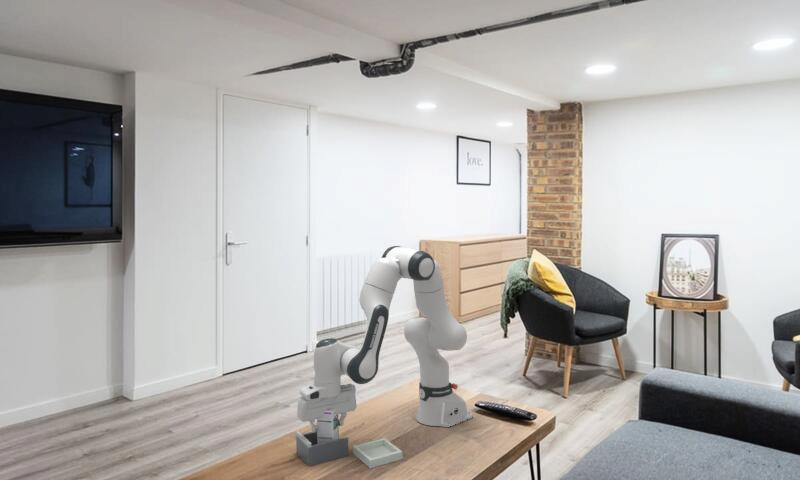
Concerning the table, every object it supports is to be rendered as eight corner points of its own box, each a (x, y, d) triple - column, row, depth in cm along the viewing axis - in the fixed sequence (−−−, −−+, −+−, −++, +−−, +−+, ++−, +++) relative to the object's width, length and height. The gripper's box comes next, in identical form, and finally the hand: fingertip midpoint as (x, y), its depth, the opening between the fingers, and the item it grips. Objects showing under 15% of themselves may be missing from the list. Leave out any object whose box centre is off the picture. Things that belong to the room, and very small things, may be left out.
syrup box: (333, 453, 182) (333, 410, 181) (316, 452, 183) (316, 409, 182) (339, 446, 188) (338, 404, 187) (322, 444, 189) (322, 403, 188)
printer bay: (334, 443, 193) (334, 423, 192) (348, 455, 183) (348, 434, 183) (296, 452, 185) (296, 431, 185) (308, 466, 176) (308, 444, 176)
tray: (384, 445, 191) (384, 438, 191) (402, 459, 181) (402, 451, 180) (353, 453, 185) (353, 446, 185) (370, 468, 174) (370, 460, 174)
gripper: (351, 379, 192) (351, 418, 193) (295, 390, 181) (296, 431, 182) (359, 385, 187) (359, 424, 188) (302, 396, 176) (303, 438, 177)
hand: (327, 428), depth 185 cm, fingers closed on syrup box, 8 cm apart
